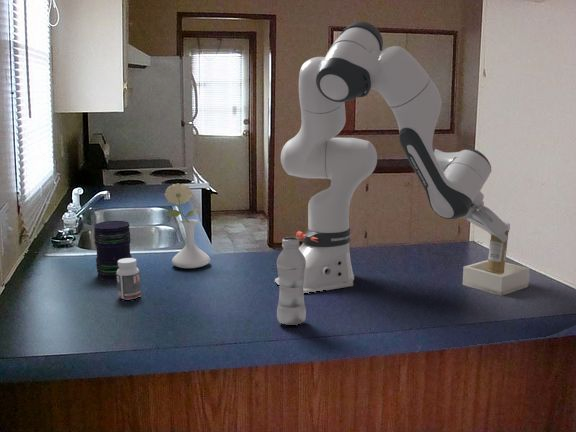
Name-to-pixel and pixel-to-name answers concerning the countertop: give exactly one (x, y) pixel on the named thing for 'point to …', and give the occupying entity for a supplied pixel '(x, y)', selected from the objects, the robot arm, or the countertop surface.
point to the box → (496, 278)
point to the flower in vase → (186, 229)
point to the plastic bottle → (291, 283)
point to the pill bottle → (128, 279)
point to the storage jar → (111, 247)
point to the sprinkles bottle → (497, 253)
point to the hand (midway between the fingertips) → (500, 237)
